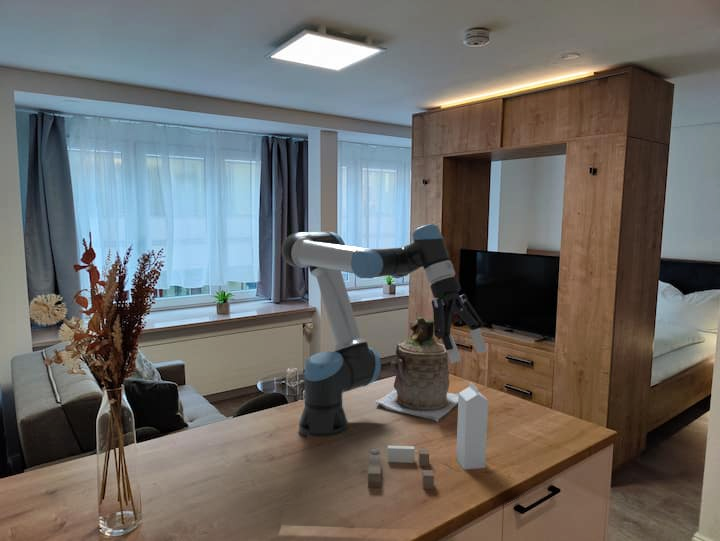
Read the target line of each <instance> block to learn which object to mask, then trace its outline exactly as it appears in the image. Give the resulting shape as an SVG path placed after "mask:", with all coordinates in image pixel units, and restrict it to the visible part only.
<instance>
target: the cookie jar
mask: <svg viewBox="0 0 720 541" xmlns="http://www.w3.org/2000/svg"><path fill="white" fill-rule="evenodd" d="M409 329H410V330H411V331H413V333H412V334H411V335H410V337H409V338H407V339H405V341H403V342H400V343H398V344H397V346H396V350H395V355H396V356H397V357H396V361H391V363H390V368H391V370H393V373H394V375H395V379H394V383H393V388H394V389H393V390H392V391H390V392H389V393H387V395H384V396H383V397H382V398H379V399H377V400H375V403H376V404H377V405H380V406H381V407H383V408H384V409H386V410H389V411H394V412H399V413H402V414H403V413H404V414H407V415H412V416H416V417H420V418H424V419H427V420H428V419H429V420H432V421H434V422H437V423H439V422H438V421H440V419H441V418H443V417H444V416H445V415H447V414H448V413H450V412H451V410H452V409H454V408H455V407H456V406H457V405H458V398H459V393H452V392H449V388H450V378H449V377H450V372H449V365H448V364H449V360H448V359H449V357H448V354H447V351H446V349H445V346H444V343H443V344H442V343H439V342H437V341H435V338H434V320H431V319H427V318H425V317H422V316H418V317H417V318H416V320H412V321H410V324H409Z"/></svg>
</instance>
